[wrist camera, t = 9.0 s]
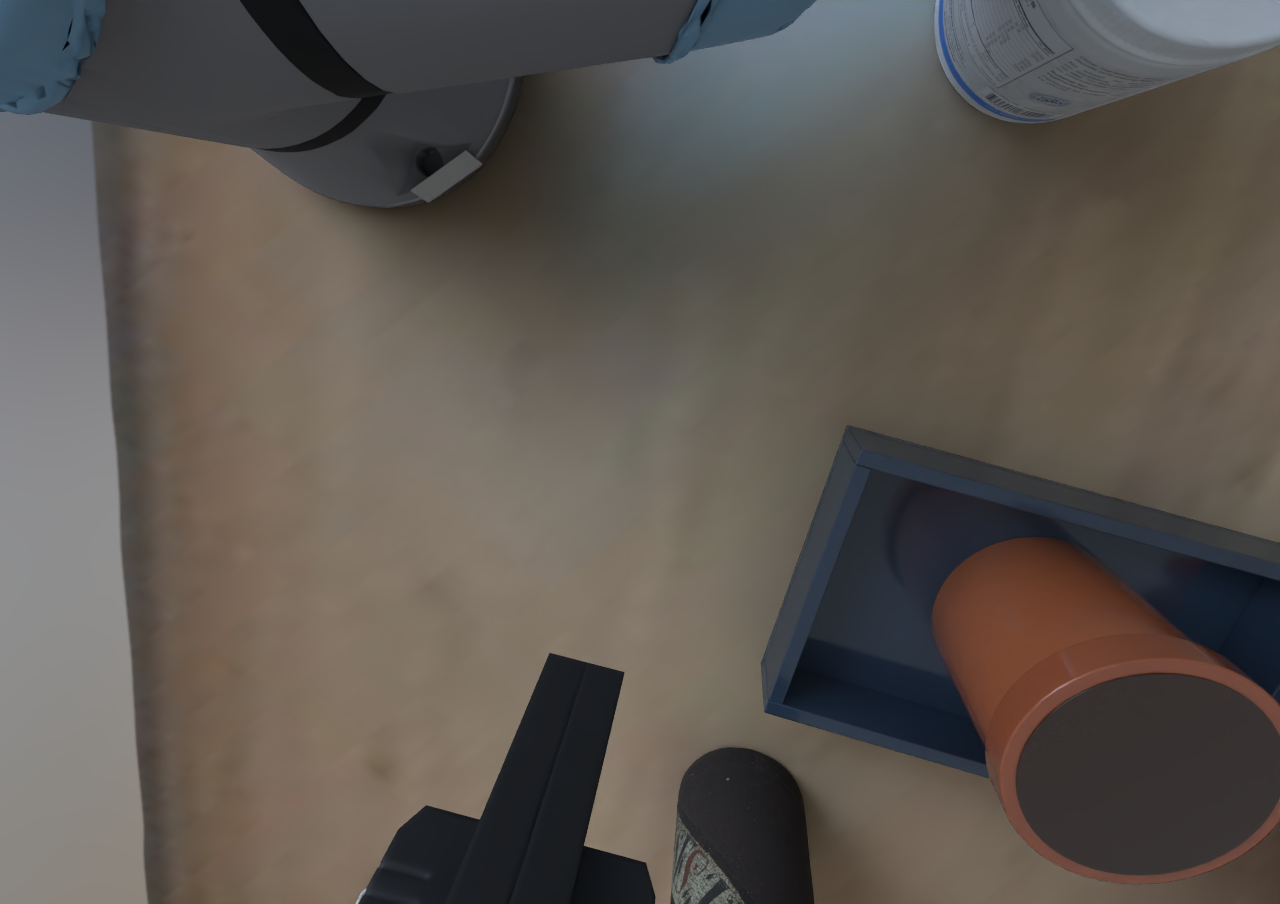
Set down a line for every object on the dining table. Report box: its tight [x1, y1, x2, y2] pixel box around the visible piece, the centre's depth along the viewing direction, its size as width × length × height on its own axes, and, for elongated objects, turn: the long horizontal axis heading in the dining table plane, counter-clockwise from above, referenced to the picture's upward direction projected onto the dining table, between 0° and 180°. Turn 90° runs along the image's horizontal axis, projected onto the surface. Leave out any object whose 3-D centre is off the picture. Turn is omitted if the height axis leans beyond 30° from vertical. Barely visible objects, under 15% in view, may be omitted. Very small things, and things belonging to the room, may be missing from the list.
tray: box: [761, 425, 1280, 778], centre depth 37 cm, size 16×24×5 cm, turn 76°
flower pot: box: [931, 537, 1280, 884], centre depth 33 cm, size 11×16×15 cm
